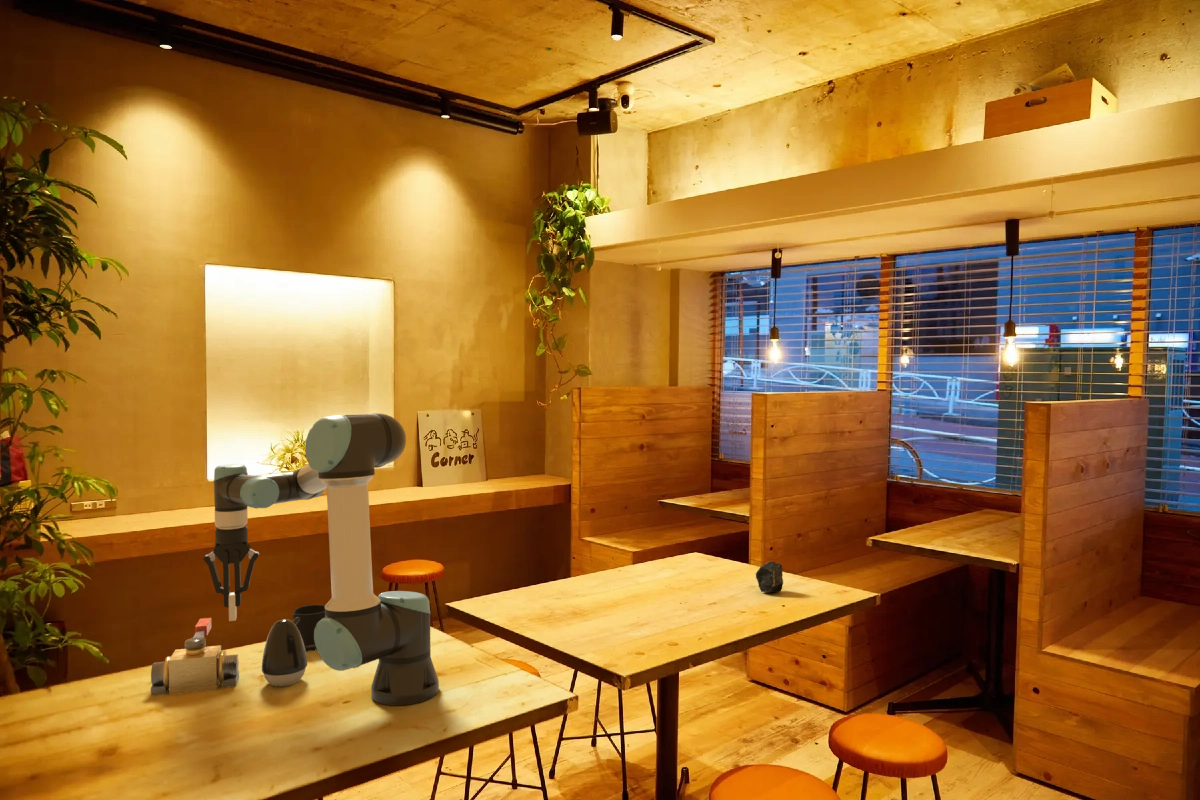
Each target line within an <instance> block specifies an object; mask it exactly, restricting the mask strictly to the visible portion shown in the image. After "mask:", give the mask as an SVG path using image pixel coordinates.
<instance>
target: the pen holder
mask: <svg viewBox="0 0 1200 800" xmlns="http://www.w3.org/2000/svg"><path fill="white" fill-rule="evenodd" d="M325 605H326V604H325ZM325 605H324V604H310V605H303V606H300V607H297V608H295V609H294V611H293V613H292V621H293V620H294V619H295V618H296V617H299V618H300V620H299V622H298V623H297V624H296V626H297V628H298V629H299V632H300V634H301V636H302V639H303V642H304V646H305V650H306V652H311V651H317V648H316V645H315V641H314V630H315V627H316V625H317V623H318V622H319V621H320V620H321V619H323V618H325Z"/></svg>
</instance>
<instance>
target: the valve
mask: <svg viewBox="0 0 1200 800" xmlns="http://www.w3.org/2000/svg"><path fill="white" fill-rule="evenodd" d="M239 663H240V662H239V654H237V653H236V654H230V655H227V651H226V650H222V645H211V646H205V647H203V648H199V649H193V650H188V649H185V648H181V649H179V648H178V649H174V652H173V653H172V655H170V656H169V655H168V656H166V657H165V659H164V661H158V662H153V663H152V665H151V669H150V682H151V687H150V696H159V695H166V694H167V692H168V691H169V692H168V693H169V694H168V695H169V696H173V695H181V694H192V693H199V692H200V693H201V692H211V691H218V688H219V685H220V684H221V688H223V689H224V688H231V687H236V686H237V684H238V682H239V678H240V670H239Z"/></svg>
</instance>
